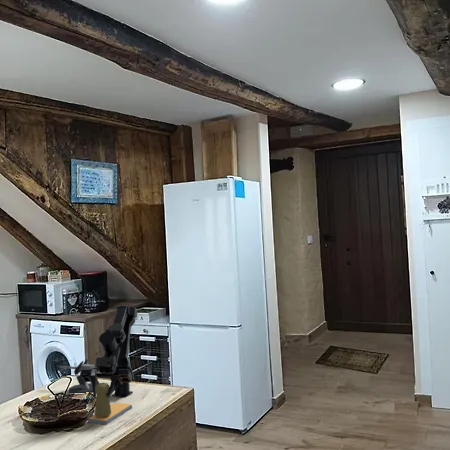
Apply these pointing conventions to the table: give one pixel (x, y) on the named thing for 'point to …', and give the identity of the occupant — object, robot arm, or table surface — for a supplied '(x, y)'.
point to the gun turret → (82, 386)
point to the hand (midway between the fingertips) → (101, 396)
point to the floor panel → (116, 411)
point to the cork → (102, 400)
